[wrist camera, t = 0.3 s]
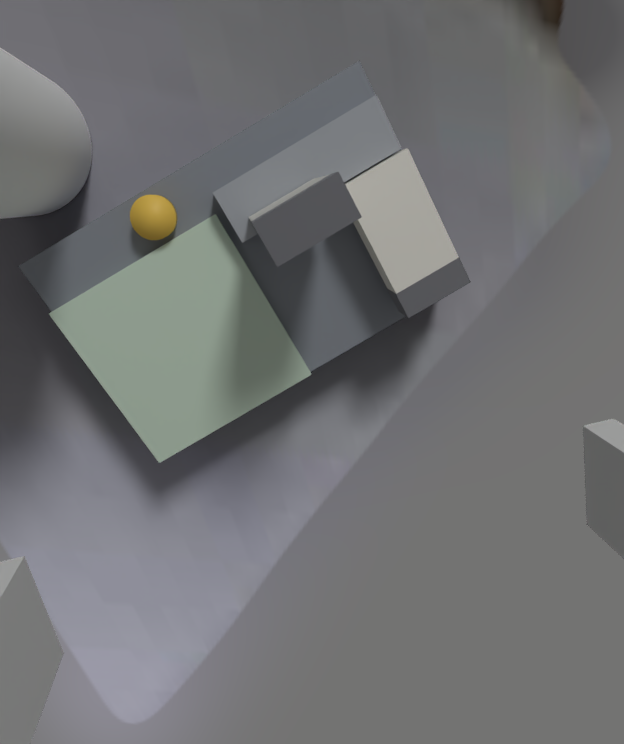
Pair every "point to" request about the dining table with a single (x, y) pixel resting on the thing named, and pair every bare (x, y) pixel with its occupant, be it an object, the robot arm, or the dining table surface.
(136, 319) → the panel
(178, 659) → the dining table surface
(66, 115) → the cup
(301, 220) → the light grey rectangular block
